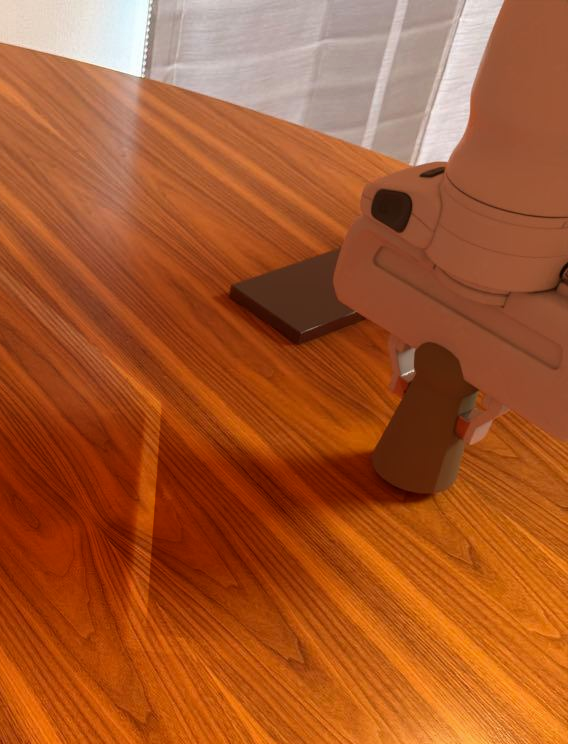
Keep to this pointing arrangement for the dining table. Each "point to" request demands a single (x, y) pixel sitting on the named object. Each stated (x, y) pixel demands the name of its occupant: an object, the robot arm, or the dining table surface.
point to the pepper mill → (426, 425)
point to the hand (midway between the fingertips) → (433, 414)
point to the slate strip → (297, 298)
